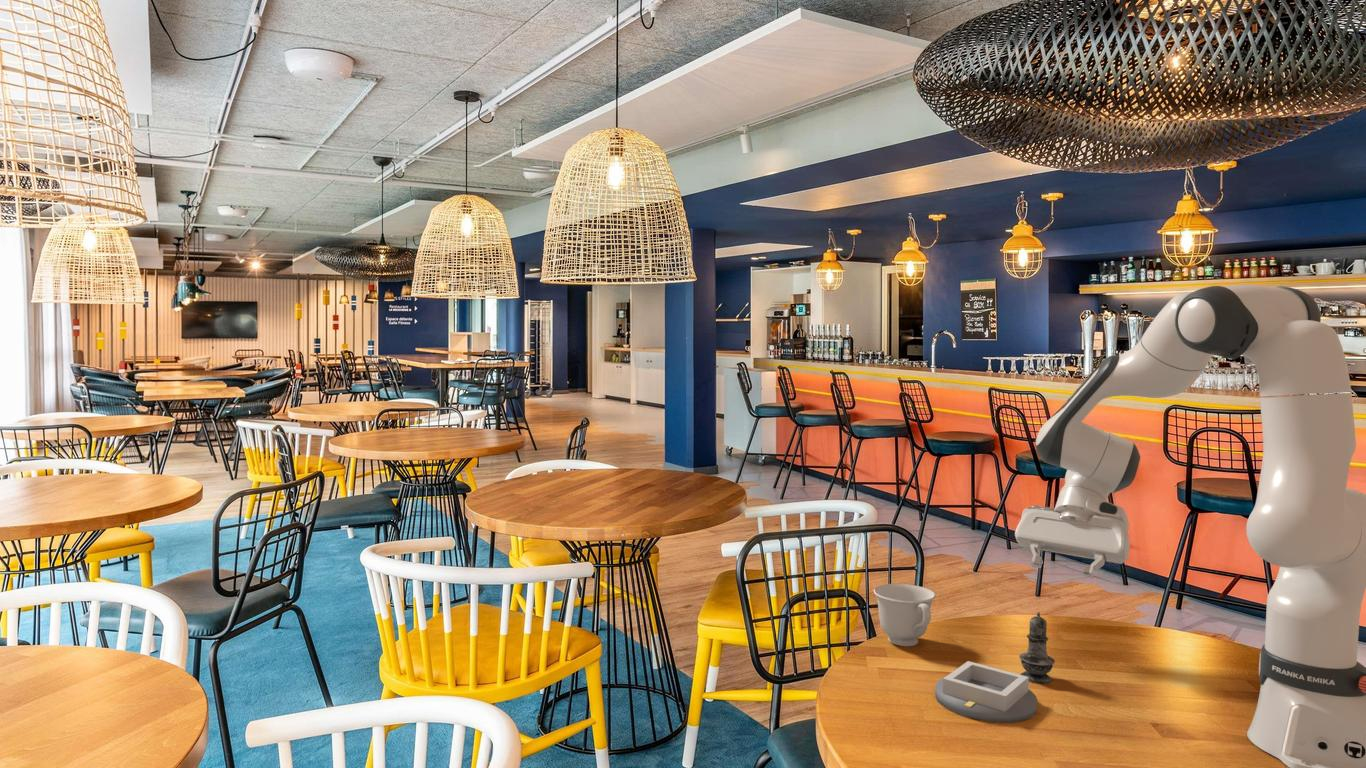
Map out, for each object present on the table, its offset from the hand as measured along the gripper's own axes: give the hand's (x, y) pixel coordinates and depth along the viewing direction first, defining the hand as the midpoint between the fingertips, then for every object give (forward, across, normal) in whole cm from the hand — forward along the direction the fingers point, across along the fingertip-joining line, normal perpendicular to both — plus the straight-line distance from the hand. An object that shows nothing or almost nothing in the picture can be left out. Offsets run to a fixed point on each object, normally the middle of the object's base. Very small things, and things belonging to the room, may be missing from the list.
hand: (1061, 570), depth 161 cm
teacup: (+21, -25, +3) cm, 33 cm away
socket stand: (+32, -3, -8) cm, 33 cm away
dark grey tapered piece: (+21, 0, +3) cm, 21 cm away
